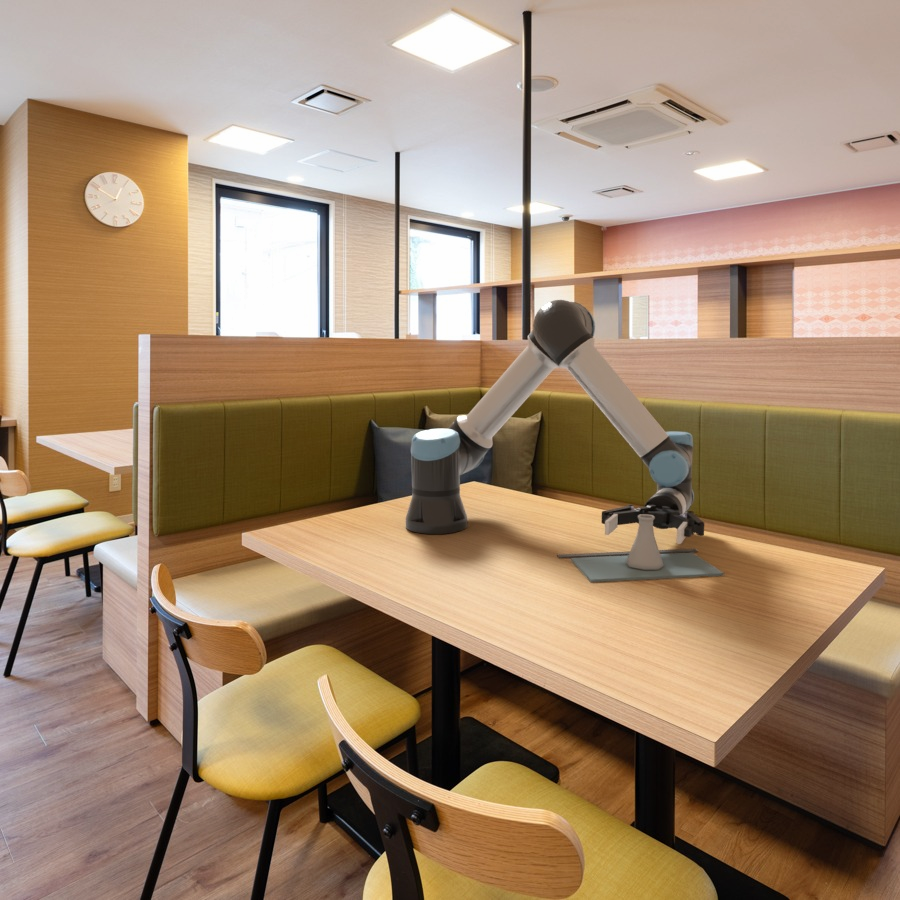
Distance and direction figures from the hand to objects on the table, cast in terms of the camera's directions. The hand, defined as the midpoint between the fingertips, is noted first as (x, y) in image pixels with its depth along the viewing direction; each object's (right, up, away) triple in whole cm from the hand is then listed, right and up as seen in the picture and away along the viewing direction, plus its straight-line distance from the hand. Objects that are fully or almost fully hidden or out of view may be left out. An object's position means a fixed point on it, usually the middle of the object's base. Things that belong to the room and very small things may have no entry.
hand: (641, 532), depth 129 cm
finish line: (+1, -6, +13) cm, 14 cm away
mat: (+2, -7, +4) cm, 9 cm away
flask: (+2, -7, +4) cm, 8 cm away
